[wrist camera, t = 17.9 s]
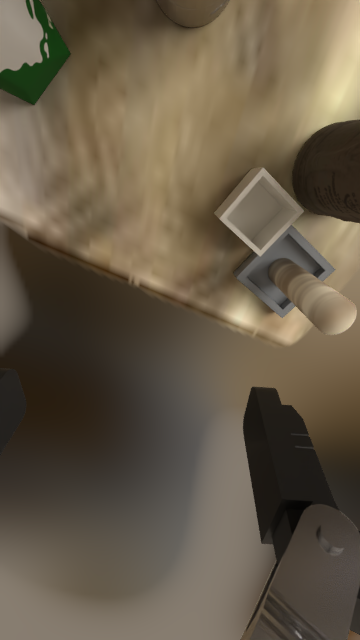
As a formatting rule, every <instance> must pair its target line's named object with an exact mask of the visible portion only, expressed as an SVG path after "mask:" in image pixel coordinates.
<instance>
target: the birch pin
mask: <svg viewBox="0 0 360 640" xmlns="http://www.w3.org/2000/svg"><path fill="white" fill-rule="evenodd" d="M268 276H269V279H270V280H271V281H272V282H273V283H274V284H275V285H276V286H277V287H278V288H279V289H280V290H281V291H282V292H283V293H284V294H285V296H286V297H287V298H288V299H289V300H290V301H291V302H292V303H293V304H294V305H295V306H296V307H297V308H298V309H299V310H300V311H301V312H302V313H303V314H304V315H305V316H306V317H307V318H308V319H309V320H310V321H311V322H312V323H313V324H314V325H315V326H316V327H317V328H318V329H319V330H320V331H321V332H322V333H324V334H328V335H335V334H339V333H342V332H344V331H345V330H347V329H348V328H349V327H350V326H351V325H352V324H353V322H354V321H355V318H356V313H357V311H356V307H355V305H354V304H353V302H351V301H350V300H349V299H347V298H346V297H344V296H343V295H341V294H340V293H338V292H337V291H335V290H334V289H333V288H331V287H330V286H328V285H327V284H325V283H324V282H322V281H321V280H319V279H318V278H316V277H315V276H313V275H312V274H311V273H309V272H308V271H306V270H305V269H303V268H302V267H300V266H299V265H297V264H296V263H294V262H293V261H292V260H290V259H288V258H280V259H277V260H275V261H274V262H273V263H272V264H271V265H270V267H269V270H268Z"/></svg>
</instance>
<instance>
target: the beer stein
mask: <svg viewBox="0 0 360 640" xmlns="http://www.w3.org/2000/svg"><path fill="white" fill-rule="evenodd" d="M292 181H293V188H294V192H295V194H296V197H297V199H298V201H299V202H300V203H301V204H302V205H303V206H304V207H305V208H306V209H308V210H309V211H311V212H313V213H316V214H319V215H326V216H331V217H334V218H337V219H341V220H343V221H351V222H356V223H360V120H352V121H346V122H339V123H334V124H331V125H328V126H326V127H324V128H323V129H321V130H319V131H317V132H316V133H315V134H314V135H313V136H311V137H310V138H309V140H308V141H307V142H306V143H305V144H304V146H303V147H302V149H301V150H300V152H299V154H298V156H297V159H296V161H295V165H294V169H293V178H292Z"/></svg>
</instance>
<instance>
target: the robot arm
mask: <svg viewBox="0 0 360 640" xmlns="http://www.w3.org/2000/svg"><path fill="white" fill-rule="evenodd" d="M156 1H157V3H158V4H159V6H160V8H161V10H162V11H163V12H164V13H165V14H166V15H167V16H168V18H170V19H171V20H172V21H174V22H175V23H177V24H179V25H182V26H184V27H192V28H194V27H200V26H204V25H206V24H208V23H210V22H212V21H213V20H214V19H215V18H216V17H218V16H219V15H220V13H221V12H222V11H223V10H224V9H225V7H226V6H227V4H228V2H229V0H156ZM25 410H26V400H25V396H24V393H23V390H22V386H21V383H20V380H19V377H18V374H17V372H16V371H15V370H14V369H3V368H0V455H1V453H2V452H3V450H4V448H5V447H6V445H7V443H8V441H9V440H10V438H11V437H12V435H13V433H14V432H15V430H16V429H17V427H18V425H19V424H20V422H21V420H22V419H23V416H24V414H25ZM243 433H244V440H245V446H246V452H247V458H248V464H249V470H250V476H251V482H252V488H253V494H254V500H255V506H256V512H257V518H258V525H259V531H260V537H261V543H262V544H273V545H274V549H275V555H276V562H275V564H274V566H273V569H272V571H271V573H270V575H269V577H268V580H267V582H266V584H265V587H264V589H263V591H262V593H261V595H260V598H259V600H258V602H257V604H256V606H255V609H254V611H253V613H252V615H251V618H250V620H249V622H248V624H247V626H246V629H245V631H244V633H243V635H242V637H241V639H240V640H347V638H348V634H349V630H351V631H353V632H355V633H357V634H359V635H360V531H359V530H357V528H356V527H355V525H354V524H353V523H352V522H351V521H350V520H349V519H348V518H347V517H346V516H345V515H344V514H343V513H341V512H340V511H339V509H338V507H337V506H336V503H335V501H334V499H333V496H332V494H331V491H330V489H329V486H328V483H327V481H326V478H325V475H324V473H323V470H322V468H321V465H320V463H319V460H318V457H317V455H316V452H315V450H314V449H313V444H312V442H311V439H310V437H309V436H308V435H309V434H308V431H307V429H306V426H305V423H304V421H303V419H302V417H301V416H300V415H299V414H298V413H297V411H296V410H295V409H294V408H293V407H292V406H291V405H282V404H281V401H280V398H279V395H278V392H277V390H276V389H275V388H263V387H252V388H251V391H250V395H249V399H248V403H247V407H246V411H245V415H244V421H243Z"/></svg>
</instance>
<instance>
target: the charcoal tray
mask: <svg viewBox="0 0 360 640" xmlns="http://www.w3.org/2000/svg"><path fill="white" fill-rule="evenodd" d="M280 258H288V259H290V260H292V261H293V262H294V263H296V264H297V265H299V266H300V267H302V268H303V269H305V270H306V271H308V272H309V273H311V274H312V275H313V276H315V277H316V278H318V279H319V280H321V281H322V282H323V281H324V280H325V279H326V278H327V277H328V276H329V275H330V274H331V273H332V272H334V271H335V269H334V268H333V267H332V266H331V264H330V263H329V262H328V261H327V260H326V259H325V258H324V257H323V256H322V255H321V254H320V253H319V252H318V251H317V250H316V249H315V248H314V247H313V246H312V245H311V244H310V243H309V242H308V241H307V240H306V239H305V238H304V237H303V236H302V235H301V234H300V233H299V232H298V231H297V230H296V229H295V228H294V227H293V226H292V225H290V227H289V228H288V229H287V230H286V231H285V232H284V233H283V234H282V235H281V236H280V237H279V238H278V239H277V240H276V241H275V242H274V243H273V244H272V245H271V246H270V247H269V248H268V249H267V250H266V251H265V252H264V253H263V254H262V255H261V257H260V256H259V255H258V254H257V253H255V252H254V251H253V253H252V254H251V255H250V256H249V257H248V258H247V259H246V260H245V261H244V262H243V263H242V264H241V265H240V266H239V267H238V268H237V269H236V270H235V272H234V275H235V277H236V278H237V279H238V280H239V281H240V282H241V283H242V284H244V285H245V286H246V287H247V288H248V289H249V290H250V291H252V292H253V293H254V294H255V295H256V296H257V297H259V298H260V299H261V300H262V301H263V302H264V303H265V304H267V305H268V306H269V307H270V308H271V309H272V310H274V311H275V312H276V313H277V314H278V315H279V316H280V317H282V318H283V317H284V316H285V315H286V314H287V313H288V312H290V311H291V310H292V309H293V308H294V307H295V305H294V304H293V303H292V302H291V301H290V300H289V299H288V298H287V297H286V296H285V294H284V293H283V292H282V291H281V290H280V289H279V288H278V287H277V286H276V285H275V284H274V283H273V282H272V281H271V280H270V279H269V276H268V270H269V267H270V265H271V264H272V263H273V262H274V261H275V260H277V259H280Z"/></svg>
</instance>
